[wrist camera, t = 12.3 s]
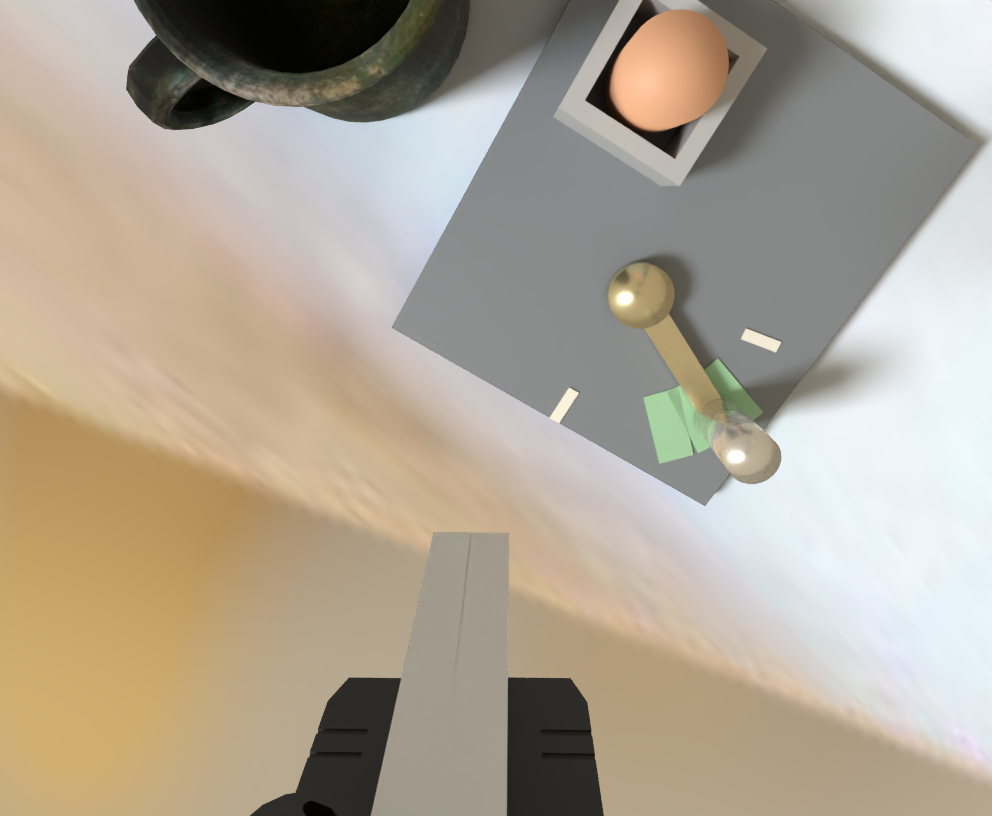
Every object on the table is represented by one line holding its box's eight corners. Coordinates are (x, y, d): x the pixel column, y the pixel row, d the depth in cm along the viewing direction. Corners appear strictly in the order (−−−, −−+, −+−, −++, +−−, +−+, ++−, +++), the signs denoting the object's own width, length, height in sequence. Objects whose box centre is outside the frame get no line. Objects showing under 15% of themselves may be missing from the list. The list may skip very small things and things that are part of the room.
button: (638, 18, 30) (662, -14, 25) (712, 69, 30) (750, 47, 26) (588, 104, 31) (602, 89, 26) (661, 151, 32) (688, 145, 27)
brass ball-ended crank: (594, 285, 35) (611, 305, 29) (649, 248, 34) (677, 261, 28) (700, 450, 37) (735, 497, 31) (753, 418, 37) (798, 461, 31)
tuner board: (622, -93, 31) (643, -144, 26) (962, 147, 34) (1036, 140, 29) (395, 323, 37) (378, 343, 32) (699, 496, 40) (725, 538, 35)
